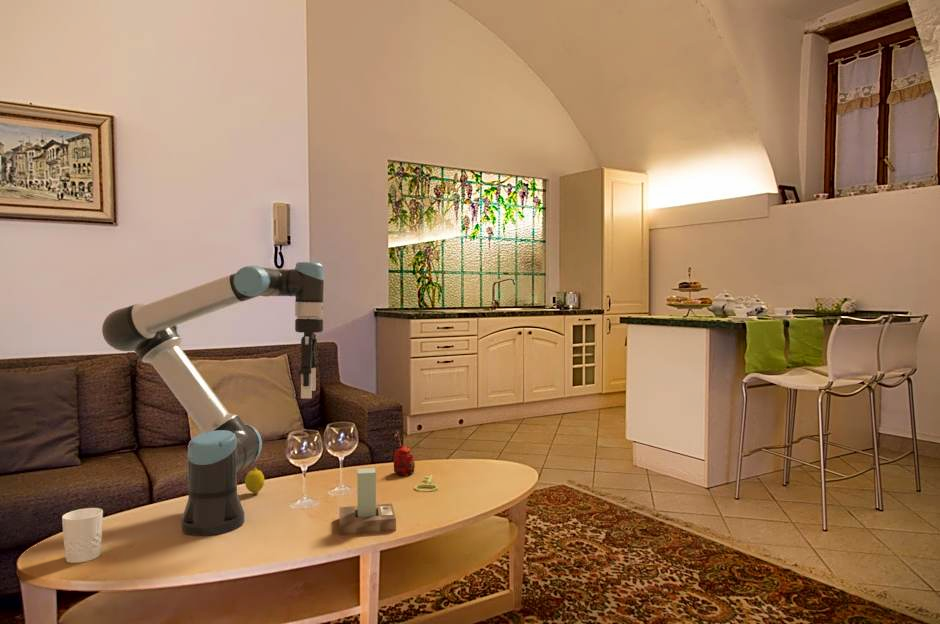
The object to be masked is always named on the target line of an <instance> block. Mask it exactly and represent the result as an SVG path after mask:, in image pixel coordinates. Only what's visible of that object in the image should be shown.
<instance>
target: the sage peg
mask: <svg viewBox="0 0 940 624" xmlns="http://www.w3.org/2000/svg"><path fill="white" fill-rule="evenodd" d="M356 471H357V480H356V481H357V506H358V517H371V516H376V505H377V491H376V490H377V481H376V479H377V478H376V477H377V473H376V468H375V467H371V468H370V467H368V468H357V469H356Z"/></svg>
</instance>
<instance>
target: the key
mask: <svg viewBox="0 0 940 624" xmlns="http://www.w3.org/2000/svg"><path fill="white" fill-rule="evenodd" d="M433 478H434V476H433V475H432V474H431V475H425V476H424V477H423V479H424V480H425V479H426V482H425V483H420V484H417V485H415V486H414V491H415V490H416V491H415V492H420V491H421V493H432V491H433V492H438V490H439V487H438V485H436V484H434V483H431V482H432V480H433ZM422 487H428V488H429V489H423V488H422ZM421 488H422V489H421Z"/></svg>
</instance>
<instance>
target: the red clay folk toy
mask: <svg viewBox="0 0 940 624" xmlns="http://www.w3.org/2000/svg"><path fill="white" fill-rule="evenodd" d="M395 431H396V432H394V438H397V436H398V442H399V446H398V448H397V450H396V451H395V454H394V457H393V472H395V474H396V475H397V476H402V477H407V476H409V475H412V474H414V473H415V468H416V463H415V458H414V455H413V453H412V452H411V449H410V448H409V447H408V446H403V445H402V443H401V439H400V435H399V433H401V432H402V431H401V430H400V431H398V430H397V429H395Z"/></svg>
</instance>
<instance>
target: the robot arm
mask: <svg viewBox="0 0 940 624" xmlns="http://www.w3.org/2000/svg"><path fill="white" fill-rule="evenodd" d="M324 281H325V278H324V266H323V265H322V264H321V263H320V262H313V261H312V262H311V261H310V262H309V261H304V262H303V261H299V262H296V264H295V267H294V268H292V269H290V268H289V269H284V268H282V269H281V268H280V269H279V268H270V267H269V268H268V267H267V268H266V267H262V266H258V265H249V266H243V267H241V268H240V269H239V270H237V271H236V272H235V273H231V274H229V275H226V276H224V277H221V278H218V279H214V280H212V281H209V282H207V283H206V282H205V283H204V284H201V285H199V286H198V285H197V286H195V287H193V288H190V289H187V290H184V291H181V292H178V293H175V294H173V295H170V296H167V297H164V298H161V299H159V300H155V301H153V302H150V303H147V304H143V303H141V302H139V303H135V304H132V305H129V306H127V307H122V308H119V309H116V310H114V311H112V312H111V313H109V314H108V315H107V316H106V317H105V319H104V321H103V323H102V328H101V331H102V332H101V333H102V336H103V339H104V341H105V342H106V344H108V345H109V346H110V347H111V348H113V349H115V350H117V351H121V352H134V353H135V354H136V355H137V357H139V359H140V361H141V362H142V363H146V364H150V365H152V366H153V368H154V369H155V370H156V372H157V373H158V374H159V376H160V378H161V379H162V380H163V382H164V383H165V384H166V385H167V387H168V388H169V390H170V391H171V392H172V394H173V395H174V396H175V398H176V399H177V401H178V402H179V403H180V404H181V406H182V407H183V408H184V410H185V411H186V412H187V414H188V415H189V417H190V418H191V419H192V421H193V422H194V423H195V425H196V426H197V427H198V429H199V430H200V432H201V433H200V434H197V435H195V436H193V437H192V438H191V439H190V440H189V442H188V445H187V453H186V454H187V455H186V458H187V481H188V482H187V483H188V486H187V487H188V497H187V498H188V499H187V502H186V505H185V509H184V512H183V515H182V518H181V524H180V527H181V531H182V532H183V533H184V534H186V535H190V536H211V535H218V534H222V533H223V534H224V533H227V532H230V531H233V530H235V529H237V528H240V527H241V526H243V524H245V521H246V520H245V510H244V508H243V504H242V502H241V499H240V497H239V494H238V473H240V472H241V471H242V470H245V469H246V468H248V467H250V466H251V465H252V464H254V462H255V461H256V460H257V459H258V457H259V456H260V455H261V452H262V449H263V448H262V446H263V441H262V437H261V434H260V433H259V431H258V429H256V428H255V427H254V426H252V425H249V424H246V423H244V421H243V419H241V418H240V416H239V415H238V414H233V413H230V412H229V411H228V410H227V408H226V407H225V405H224V404H223V403H222V401H221V400H220V399H219V397H218V396H217V395H216V393H215V392H214V390H213V389H212V388H211V387H210V385H209V383H207V381H206V380H205V378H204V377H203V376H202V375H201V373H200V372H199V369H197V368H196V366H195V365H194V363H192V361H191V359H190V358H189V357H188V355H187V354H186V353H185V351H183V349H182V348H181V342H182V338H181V337H180V335H179V334H178V325H182V324H184V323H186V322H189V321H192V320H194V319H195V320H196V319H197V318H200V317H203V316H205V315H208V314H212V313H214V312H217V311H220V310H222V309H225V308H227V307H231V306H233V305H236V304H239V303H242V302H245V301H249V300H252V299H254V298H255V299H256V298H257V297H266V298H267V297H294V298H295V300H294V301H295V302H294V304H295V305H294V316H295V317H296V318H295V321H294V332H297V333H303V336H302V337H301V339H300V345H301V348H300V349H301V350H300V351H301V357H300V358H301V359H300V369H299V370H298V371H297V372H298V375H300V383H301V384H300V399H312V398H313V397H312V396H313V395H312V394H313V393H312V391H313V392H315V391H316V384H317V383H316V379H317V378H316V371H317V369H316V368H319V363H317V344H318V343H317V342H318V341H317V338H316V337H317V334H318V333H323V331H324V320H323V318H322V317H323V316H324V311H325V310H326V306H324V284H325V283H324ZM316 333H317V334H316Z"/></svg>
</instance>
